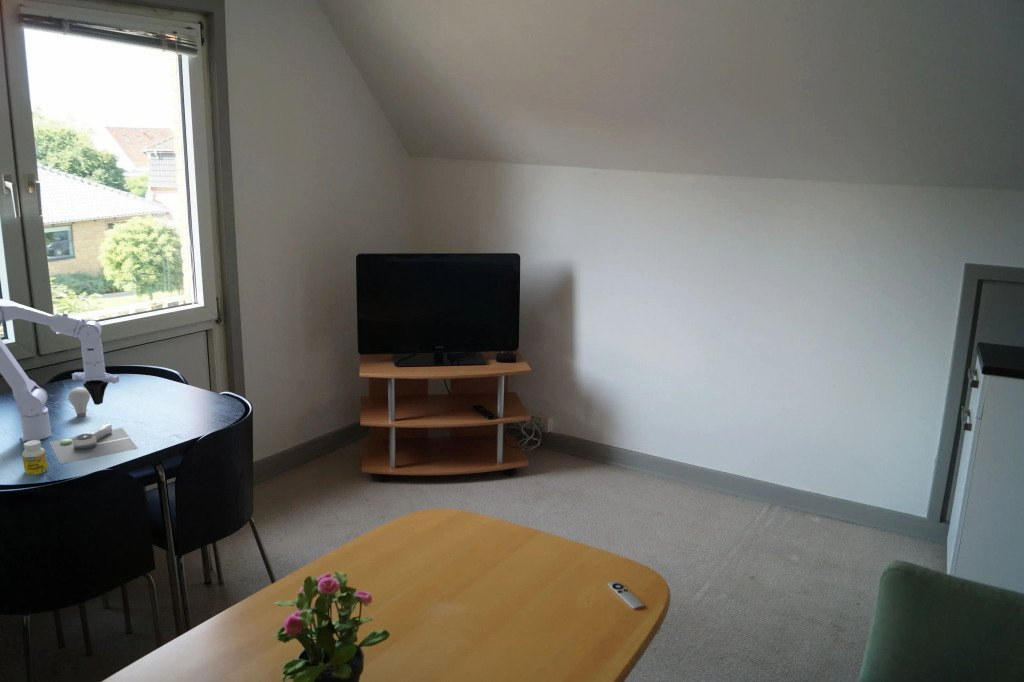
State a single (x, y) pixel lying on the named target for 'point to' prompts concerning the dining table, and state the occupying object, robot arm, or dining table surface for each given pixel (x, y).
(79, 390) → the lightbulb
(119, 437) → the plate
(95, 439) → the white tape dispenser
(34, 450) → the supplement bottle
